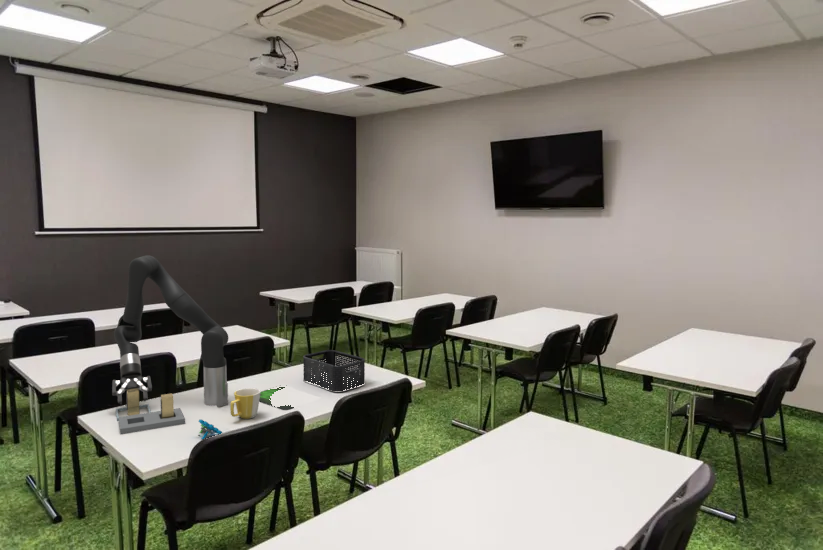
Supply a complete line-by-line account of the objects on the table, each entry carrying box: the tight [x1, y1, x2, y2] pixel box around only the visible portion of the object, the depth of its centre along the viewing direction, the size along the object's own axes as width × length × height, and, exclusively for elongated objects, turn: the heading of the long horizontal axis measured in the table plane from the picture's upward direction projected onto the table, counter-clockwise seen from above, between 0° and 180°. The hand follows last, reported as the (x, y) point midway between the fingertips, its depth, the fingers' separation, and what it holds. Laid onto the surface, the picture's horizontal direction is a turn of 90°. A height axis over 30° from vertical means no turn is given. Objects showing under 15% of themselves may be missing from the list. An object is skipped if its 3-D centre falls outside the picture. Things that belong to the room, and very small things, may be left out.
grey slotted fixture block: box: [118, 407, 186, 435], centre depth 204 cm, size 22×13×3 cm, turn 121°
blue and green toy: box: [197, 419, 223, 440], centre depth 194 cm, size 11×6×10 cm
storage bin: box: [302, 349, 366, 391], centre depth 262 cm, size 29×19×13 cm
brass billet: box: [126, 388, 140, 416], centre depth 213 cm, size 4×4×10 cm
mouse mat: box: [259, 387, 295, 411], centre depth 240 cm, size 27×22×1 cm
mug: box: [229, 387, 261, 420], centre depth 214 cm, size 14×10×10 cm
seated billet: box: [160, 393, 175, 419], centre depth 206 cm, size 4×4×10 cm
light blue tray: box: [115, 403, 152, 422], centre depth 213 cm, size 12×12×2 cm
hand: (133, 401), depth 212 cm, fingers open, 8 cm apart
